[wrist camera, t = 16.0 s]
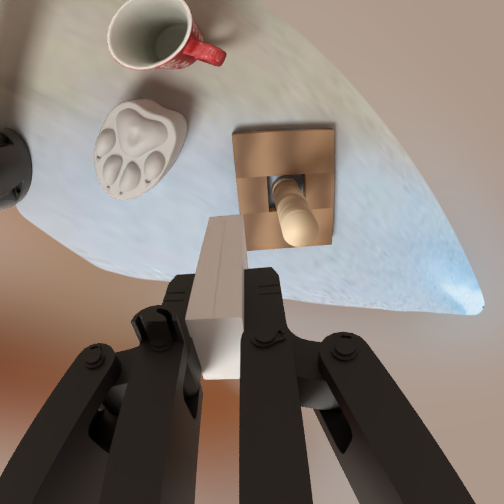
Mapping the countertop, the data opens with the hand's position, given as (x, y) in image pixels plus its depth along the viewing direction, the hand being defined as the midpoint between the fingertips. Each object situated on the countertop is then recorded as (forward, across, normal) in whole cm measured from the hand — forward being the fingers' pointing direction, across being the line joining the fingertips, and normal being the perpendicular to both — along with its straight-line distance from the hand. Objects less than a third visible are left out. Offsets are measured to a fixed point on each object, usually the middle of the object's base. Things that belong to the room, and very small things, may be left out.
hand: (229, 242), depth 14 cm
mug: (+31, -6, +14) cm, 34 cm away
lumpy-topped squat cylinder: (+31, -14, +1) cm, 34 cm away
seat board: (+30, +6, -8) cm, 32 cm away
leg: (+30, +6, -8) cm, 32 cm away
